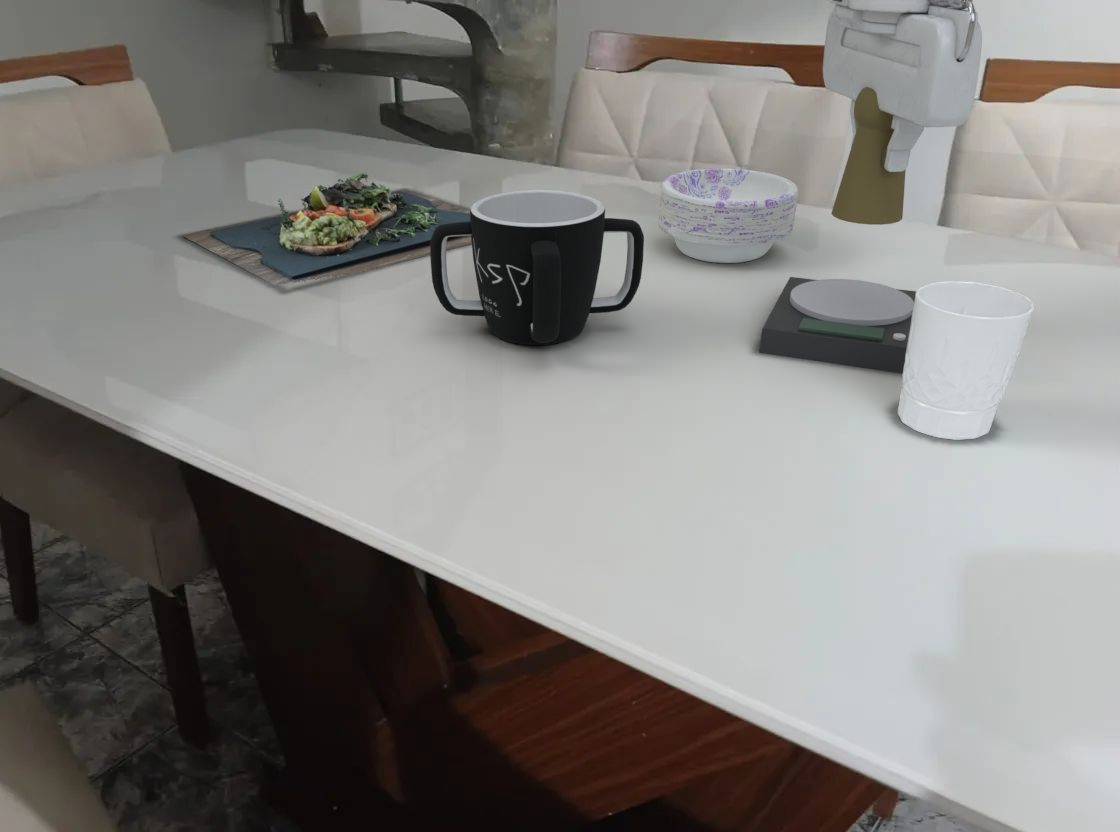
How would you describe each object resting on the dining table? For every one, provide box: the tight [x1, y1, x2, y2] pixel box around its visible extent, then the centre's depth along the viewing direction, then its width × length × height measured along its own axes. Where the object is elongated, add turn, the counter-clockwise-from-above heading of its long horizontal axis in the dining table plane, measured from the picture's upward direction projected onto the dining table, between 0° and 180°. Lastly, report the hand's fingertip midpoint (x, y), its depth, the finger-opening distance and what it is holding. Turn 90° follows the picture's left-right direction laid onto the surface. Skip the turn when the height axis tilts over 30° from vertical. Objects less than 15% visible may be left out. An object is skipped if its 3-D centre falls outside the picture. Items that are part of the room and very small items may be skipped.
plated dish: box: [181, 172, 472, 287], centre depth 121 cm, size 35×28×7 cm
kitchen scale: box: [758, 276, 917, 375], centre depth 90 cm, size 15×13×3 cm
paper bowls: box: [658, 167, 800, 264], centre depth 111 cm, size 15×15×8 cm
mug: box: [429, 189, 645, 346], centre depth 90 cm, size 16×16×12 cm
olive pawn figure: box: [831, 87, 907, 226], centre depth 84 cm, size 6×6×11 cm
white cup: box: [897, 280, 1035, 441], centre depth 73 cm, size 8×8×10 cm
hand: (876, 162), depth 84 cm, fingers closed on olive pawn figure, 4 cm apart
